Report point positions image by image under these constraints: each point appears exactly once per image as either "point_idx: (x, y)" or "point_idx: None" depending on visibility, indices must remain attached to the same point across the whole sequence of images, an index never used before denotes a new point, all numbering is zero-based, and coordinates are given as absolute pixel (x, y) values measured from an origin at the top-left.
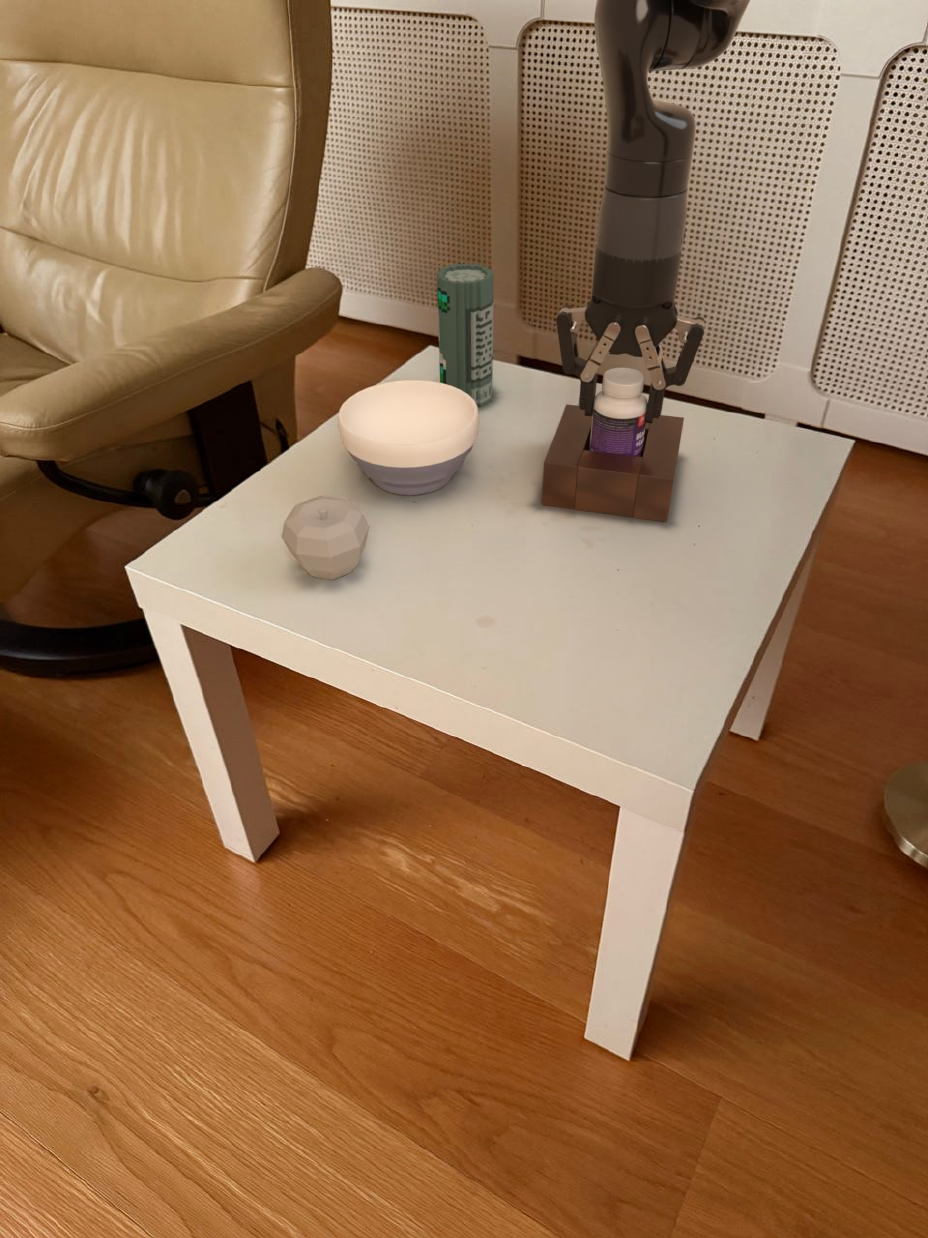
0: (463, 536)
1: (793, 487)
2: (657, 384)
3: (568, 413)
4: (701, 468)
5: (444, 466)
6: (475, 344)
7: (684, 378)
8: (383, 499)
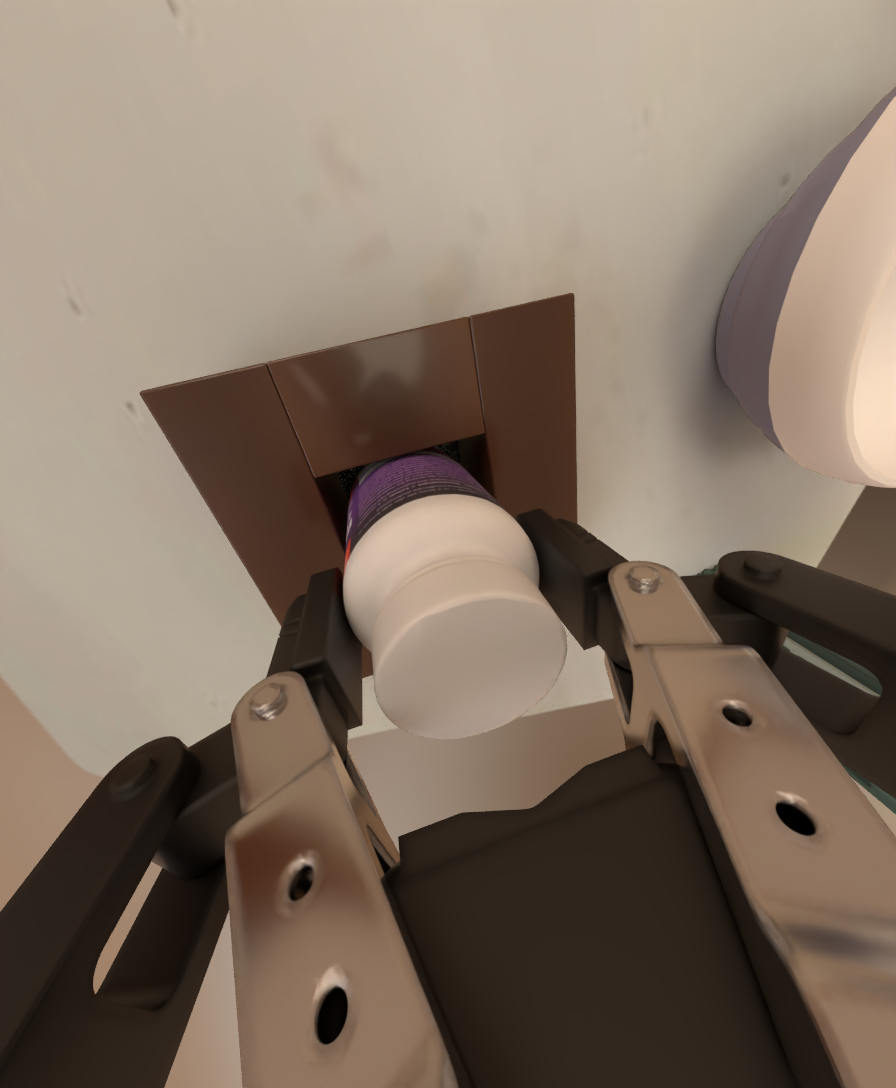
0: (661, 27)
1: (66, 650)
2: (274, 693)
3: None
4: (271, 615)
5: (846, 147)
6: (811, 662)
7: (95, 804)
8: None
